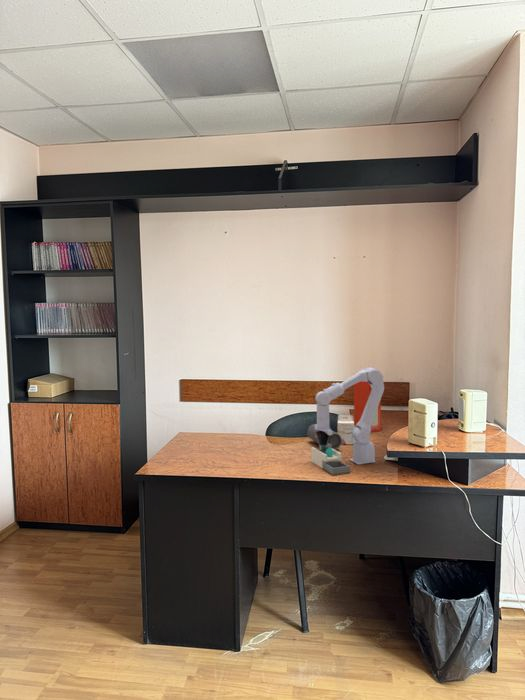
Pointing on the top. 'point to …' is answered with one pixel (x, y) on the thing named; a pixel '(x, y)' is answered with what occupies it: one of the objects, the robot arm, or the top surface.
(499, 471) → the top surface
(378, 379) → the robot arm
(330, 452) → the ball
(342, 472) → the grey open tray
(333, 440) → the bluetooth speaker
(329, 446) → the grey rectangular block
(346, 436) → the ink cartridge box
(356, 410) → the tall red panel
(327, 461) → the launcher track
